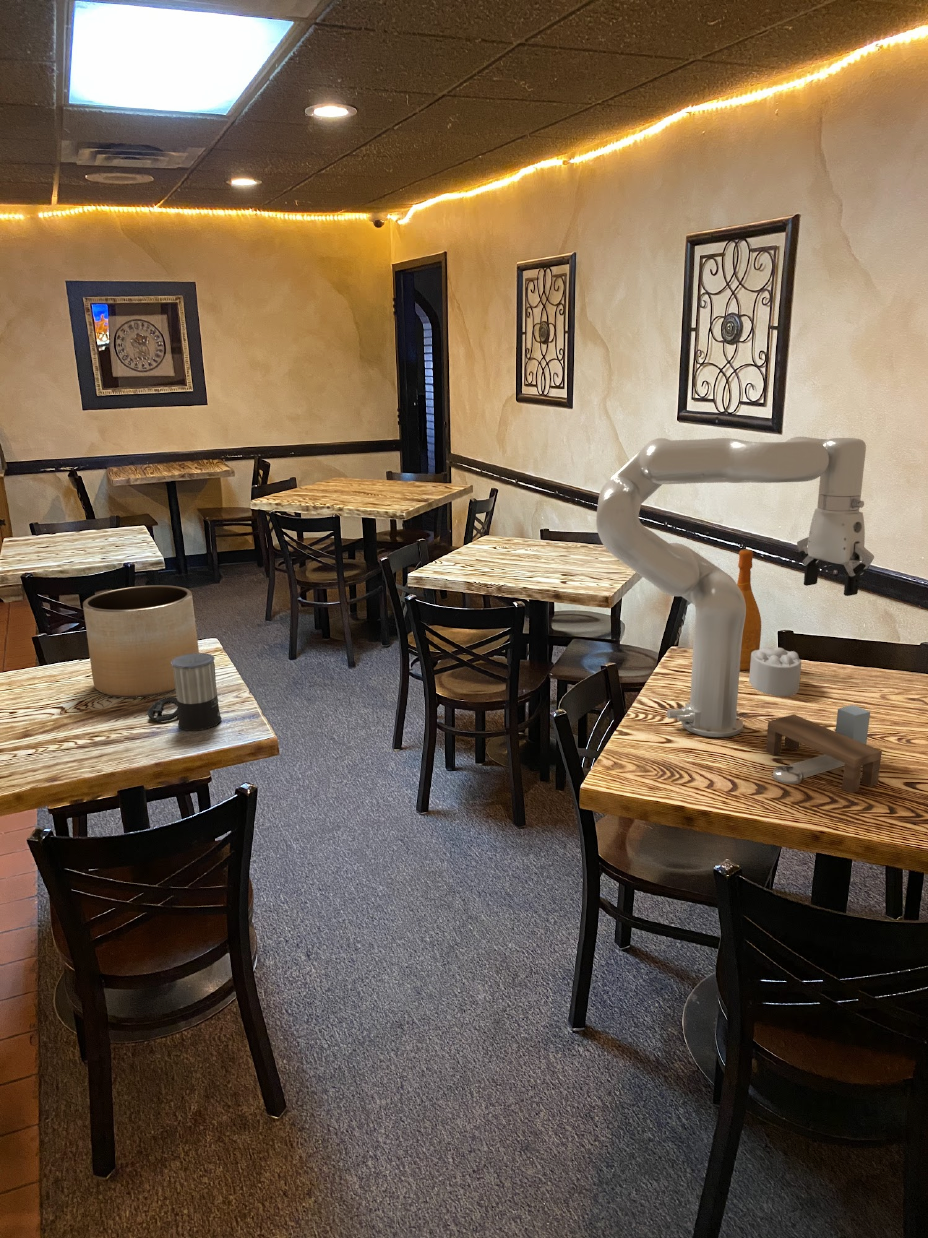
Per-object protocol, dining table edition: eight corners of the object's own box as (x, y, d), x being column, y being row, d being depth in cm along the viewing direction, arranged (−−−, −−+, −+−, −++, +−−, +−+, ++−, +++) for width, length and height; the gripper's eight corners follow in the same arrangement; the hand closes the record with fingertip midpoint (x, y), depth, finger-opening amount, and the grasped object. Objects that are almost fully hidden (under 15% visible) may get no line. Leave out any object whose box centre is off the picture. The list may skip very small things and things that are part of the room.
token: (794, 788, 156) (795, 780, 156) (768, 779, 159) (768, 772, 159) (805, 778, 159) (806, 771, 159) (779, 770, 163) (780, 763, 162)
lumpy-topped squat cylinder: (788, 677, 211) (791, 643, 208) (806, 696, 198) (810, 661, 196) (745, 677, 211) (747, 644, 209) (761, 697, 199) (763, 661, 196)
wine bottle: (750, 658, 224) (759, 545, 216) (764, 671, 215) (773, 553, 207) (712, 659, 224) (720, 546, 216) (725, 672, 215) (733, 554, 206)
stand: (851, 793, 153) (854, 759, 151) (765, 751, 170) (768, 721, 168) (877, 784, 156) (882, 751, 154) (791, 744, 173) (794, 714, 171)
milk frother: (221, 728, 186) (214, 663, 182) (144, 737, 183) (135, 671, 179) (221, 705, 200) (215, 644, 196) (150, 713, 196) (142, 651, 192)
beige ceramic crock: (101, 671, 224) (89, 589, 218) (202, 661, 231) (194, 581, 225) (87, 706, 201) (73, 615, 195) (200, 694, 207) (191, 605, 201)
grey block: (847, 752, 169) (852, 704, 166) (864, 760, 166) (870, 711, 163) (787, 770, 162) (792, 720, 159) (804, 778, 159) (810, 728, 156)
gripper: (891, 507, 160) (880, 596, 165) (816, 496, 175) (808, 578, 180) (863, 511, 157) (853, 601, 162) (789, 499, 172) (782, 583, 177)
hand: (829, 589), depth 171 cm, fingers open, 9 cm apart
